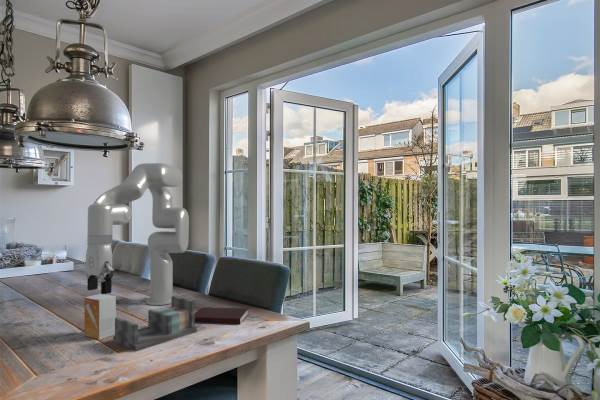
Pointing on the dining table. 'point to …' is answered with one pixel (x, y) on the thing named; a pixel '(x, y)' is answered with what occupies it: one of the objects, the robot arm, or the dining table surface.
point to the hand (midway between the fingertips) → (99, 291)
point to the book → (221, 315)
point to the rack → (158, 325)
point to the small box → (100, 316)
